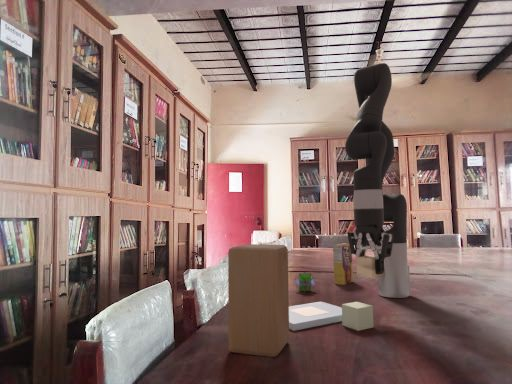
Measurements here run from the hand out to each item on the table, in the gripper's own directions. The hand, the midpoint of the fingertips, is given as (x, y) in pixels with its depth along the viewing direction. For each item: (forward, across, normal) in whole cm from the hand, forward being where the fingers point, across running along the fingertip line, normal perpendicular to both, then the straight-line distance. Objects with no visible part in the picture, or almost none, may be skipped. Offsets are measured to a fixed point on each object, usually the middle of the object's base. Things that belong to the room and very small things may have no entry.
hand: (370, 272), depth 94 cm
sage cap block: (+11, -4, +10) cm, 15 cm away
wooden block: (+11, -4, +36) cm, 38 cm away
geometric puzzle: (+12, +35, -6) cm, 37 cm away
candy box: (+12, +40, -29) cm, 51 cm away
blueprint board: (+11, +8, +14) cm, 20 cm away
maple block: (+1, 0, 0) cm, 1 cm away
